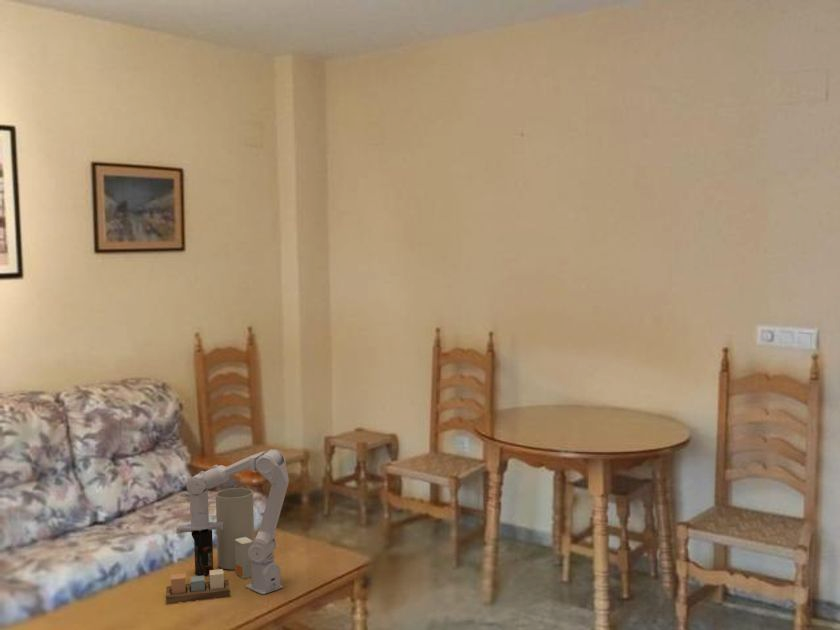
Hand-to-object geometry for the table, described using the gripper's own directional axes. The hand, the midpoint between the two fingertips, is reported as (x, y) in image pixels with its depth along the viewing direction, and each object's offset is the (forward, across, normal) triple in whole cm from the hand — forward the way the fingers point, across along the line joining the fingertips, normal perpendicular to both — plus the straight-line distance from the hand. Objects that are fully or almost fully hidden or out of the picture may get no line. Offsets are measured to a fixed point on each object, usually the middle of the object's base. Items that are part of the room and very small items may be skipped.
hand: (200, 552), depth 267 cm
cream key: (+8, -5, +9) cm, 13 cm away
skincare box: (+11, -14, -4) cm, 18 cm away
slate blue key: (+10, +1, +9) cm, 13 cm away
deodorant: (+11, -1, -10) cm, 15 cm away
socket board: (+10, +1, +9) cm, 14 cm away
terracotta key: (+8, +7, +9) cm, 14 cm away
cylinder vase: (+11, -12, -15) cm, 22 cm away
